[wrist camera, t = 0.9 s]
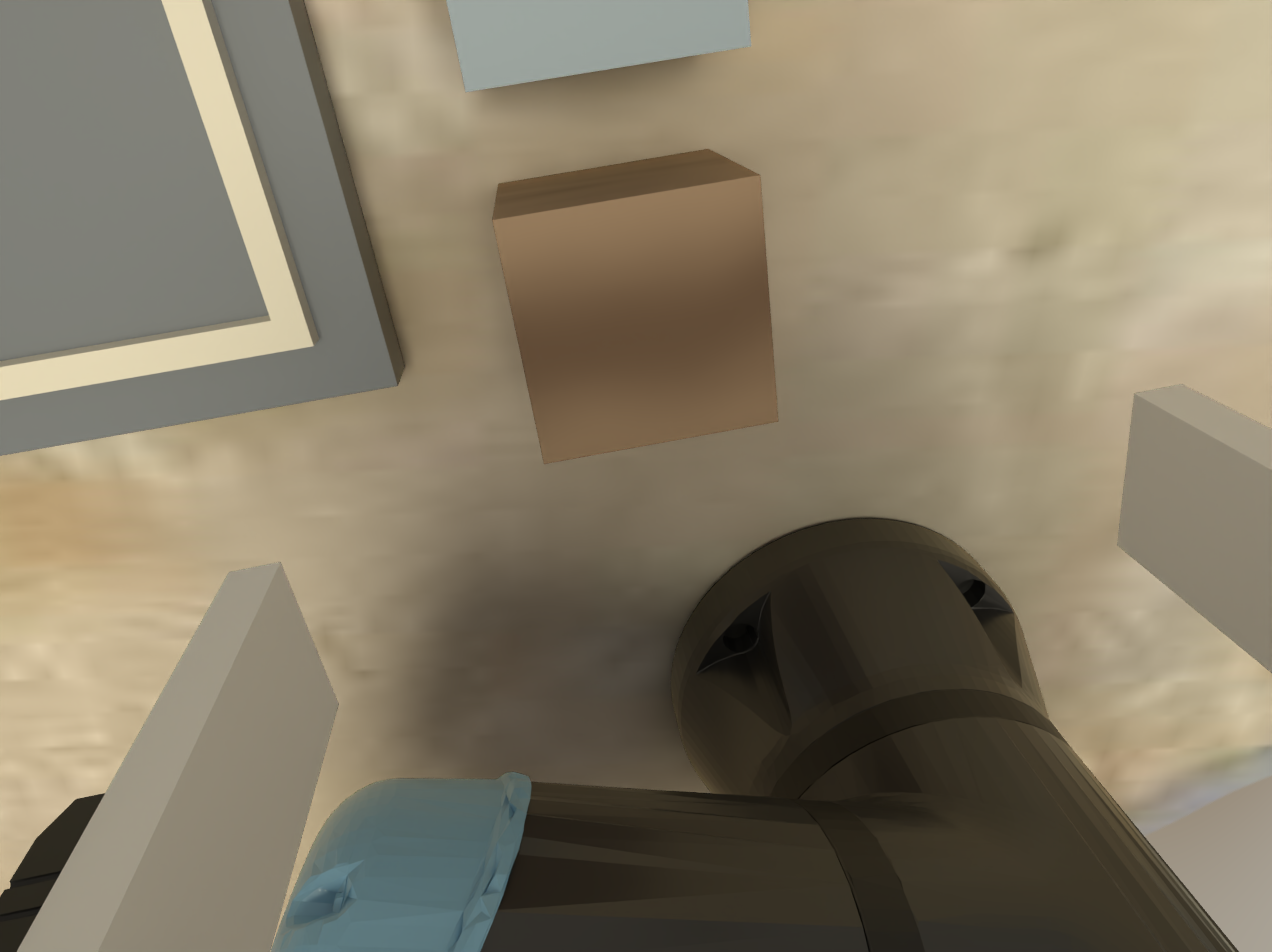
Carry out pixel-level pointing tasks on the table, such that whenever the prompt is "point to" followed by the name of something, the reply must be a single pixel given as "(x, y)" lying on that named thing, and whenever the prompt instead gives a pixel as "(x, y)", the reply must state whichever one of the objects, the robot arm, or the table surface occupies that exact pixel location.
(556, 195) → the walnut block
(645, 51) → the slate blue block
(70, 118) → the grey square base plate
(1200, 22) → the table surface
